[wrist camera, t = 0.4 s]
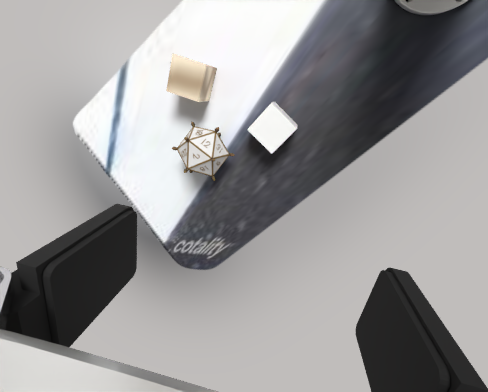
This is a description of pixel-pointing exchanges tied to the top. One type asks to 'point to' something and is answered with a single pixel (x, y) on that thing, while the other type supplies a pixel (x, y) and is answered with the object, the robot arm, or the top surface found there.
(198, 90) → the ash block
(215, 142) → the game die
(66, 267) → the robot arm
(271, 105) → the white block
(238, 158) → the top surface
